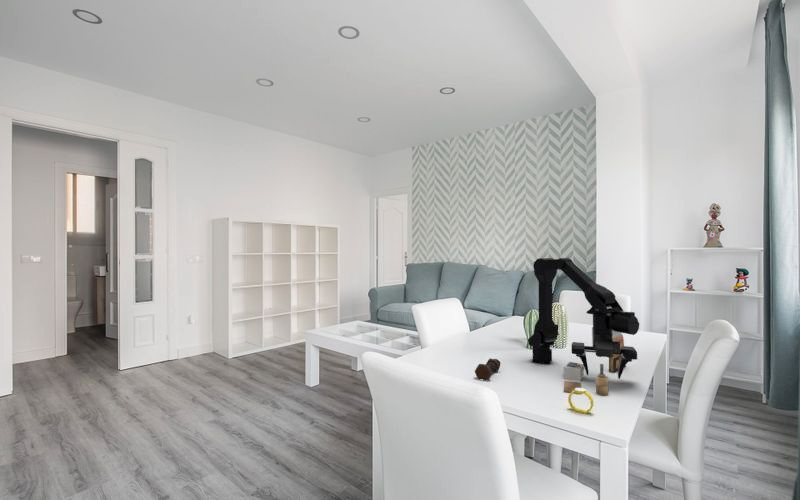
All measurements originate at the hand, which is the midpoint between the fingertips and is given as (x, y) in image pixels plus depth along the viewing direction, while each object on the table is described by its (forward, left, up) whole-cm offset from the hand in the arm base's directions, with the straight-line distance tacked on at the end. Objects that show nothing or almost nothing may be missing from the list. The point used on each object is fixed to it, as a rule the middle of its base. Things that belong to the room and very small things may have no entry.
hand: (603, 376), depth 126 cm
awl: (-1, -13, -1) cm, 13 cm away
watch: (-7, -29, -2) cm, 29 cm away
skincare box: (+4, +40, -2) cm, 41 cm away
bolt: (-35, -7, -2) cm, 36 cm away
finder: (-9, 0, -2) cm, 9 cm away
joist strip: (-9, -3, -1) cm, 10 cm away
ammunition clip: (+6, +15, -2) cm, 16 cm away
